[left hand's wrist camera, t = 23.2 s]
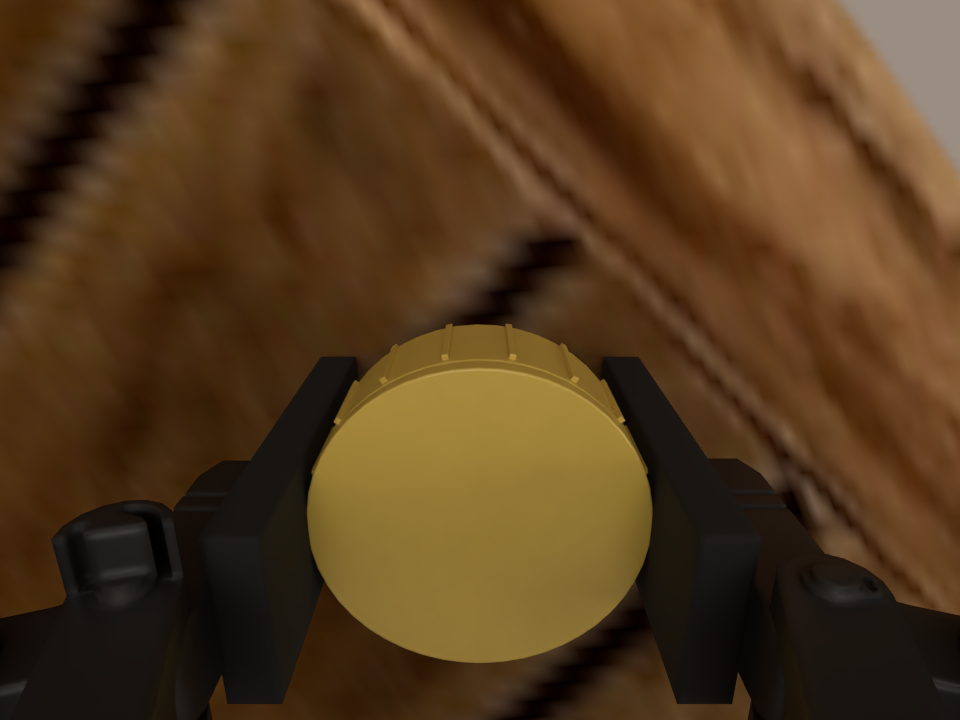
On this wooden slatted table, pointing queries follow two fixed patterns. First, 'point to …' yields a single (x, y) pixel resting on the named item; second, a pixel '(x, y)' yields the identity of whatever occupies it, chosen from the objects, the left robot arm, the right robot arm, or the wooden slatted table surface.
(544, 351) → the lid
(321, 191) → the wooden slatted table surface
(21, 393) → the wooden slatted table surface
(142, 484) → the wooden slatted table surface
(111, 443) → the wooden slatted table surface
